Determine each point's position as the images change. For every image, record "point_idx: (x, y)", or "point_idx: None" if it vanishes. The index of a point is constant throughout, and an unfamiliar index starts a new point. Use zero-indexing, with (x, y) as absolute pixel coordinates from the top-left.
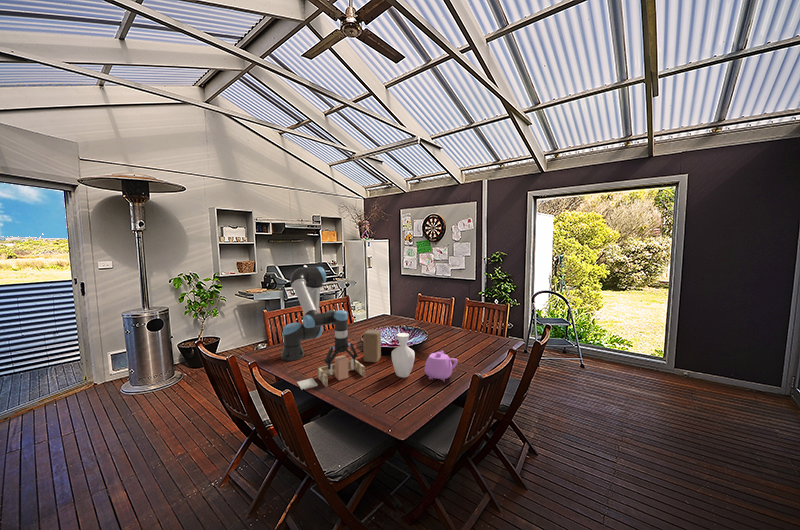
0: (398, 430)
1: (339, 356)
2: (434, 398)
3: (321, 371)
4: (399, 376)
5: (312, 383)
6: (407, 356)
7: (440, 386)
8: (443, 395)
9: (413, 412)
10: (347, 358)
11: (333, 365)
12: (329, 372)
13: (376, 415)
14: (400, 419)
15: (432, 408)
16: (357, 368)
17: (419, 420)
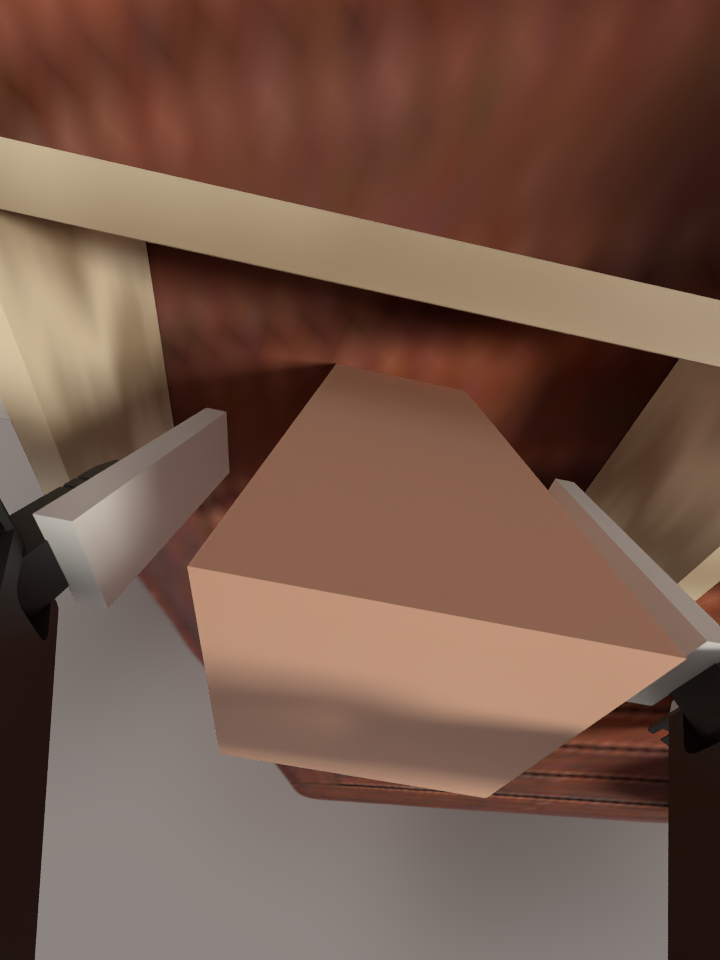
0: (304, 791)
1: (415, 630)
2: (523, 801)
3: (12, 405)
4: (672, 705)
5: None
6: None
7: (639, 797)
8: (564, 808)
9: (399, 791)
10: (470, 794)
11: (326, 279)
12: (198, 418)
13: None
14: (342, 785)
15: (459, 806)
16: (644, 480)
17: (379, 802)
